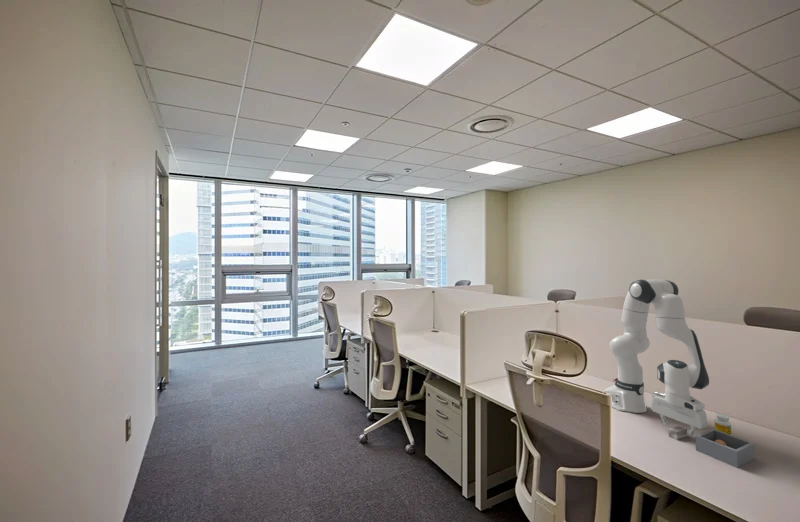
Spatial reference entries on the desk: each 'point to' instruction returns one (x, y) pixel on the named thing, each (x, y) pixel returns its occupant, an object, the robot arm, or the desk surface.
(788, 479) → the desk surface
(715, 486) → the desk surface
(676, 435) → the lid
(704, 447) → the storage box
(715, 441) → the ball
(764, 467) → the desk surface
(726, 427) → the supplement bottle
